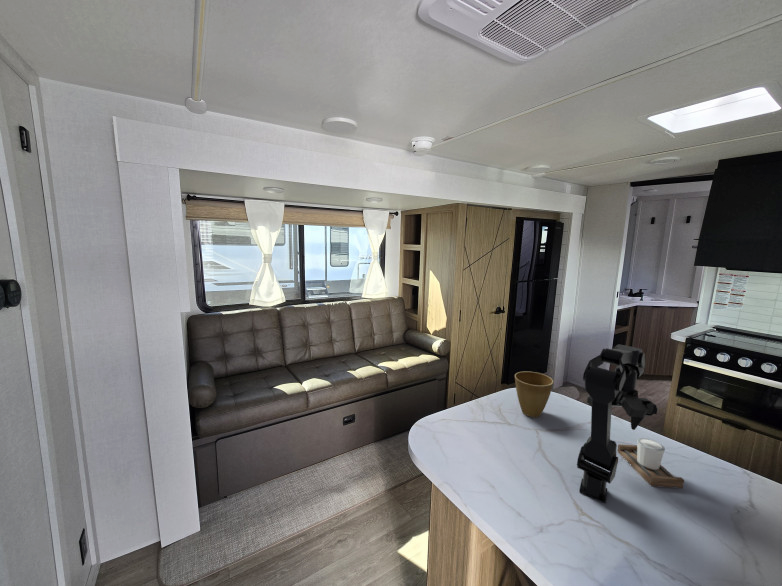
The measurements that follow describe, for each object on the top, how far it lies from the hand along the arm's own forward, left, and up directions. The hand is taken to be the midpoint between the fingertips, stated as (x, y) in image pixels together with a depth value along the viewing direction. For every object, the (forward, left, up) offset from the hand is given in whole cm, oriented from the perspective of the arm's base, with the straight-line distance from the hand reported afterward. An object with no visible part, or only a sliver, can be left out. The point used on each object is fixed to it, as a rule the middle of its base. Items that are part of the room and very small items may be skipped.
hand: (618, 428), depth 103 cm
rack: (+3, -9, -12) cm, 15 cm away
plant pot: (+15, +30, -12) cm, 36 cm away
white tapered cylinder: (+3, -9, -10) cm, 14 cm away
